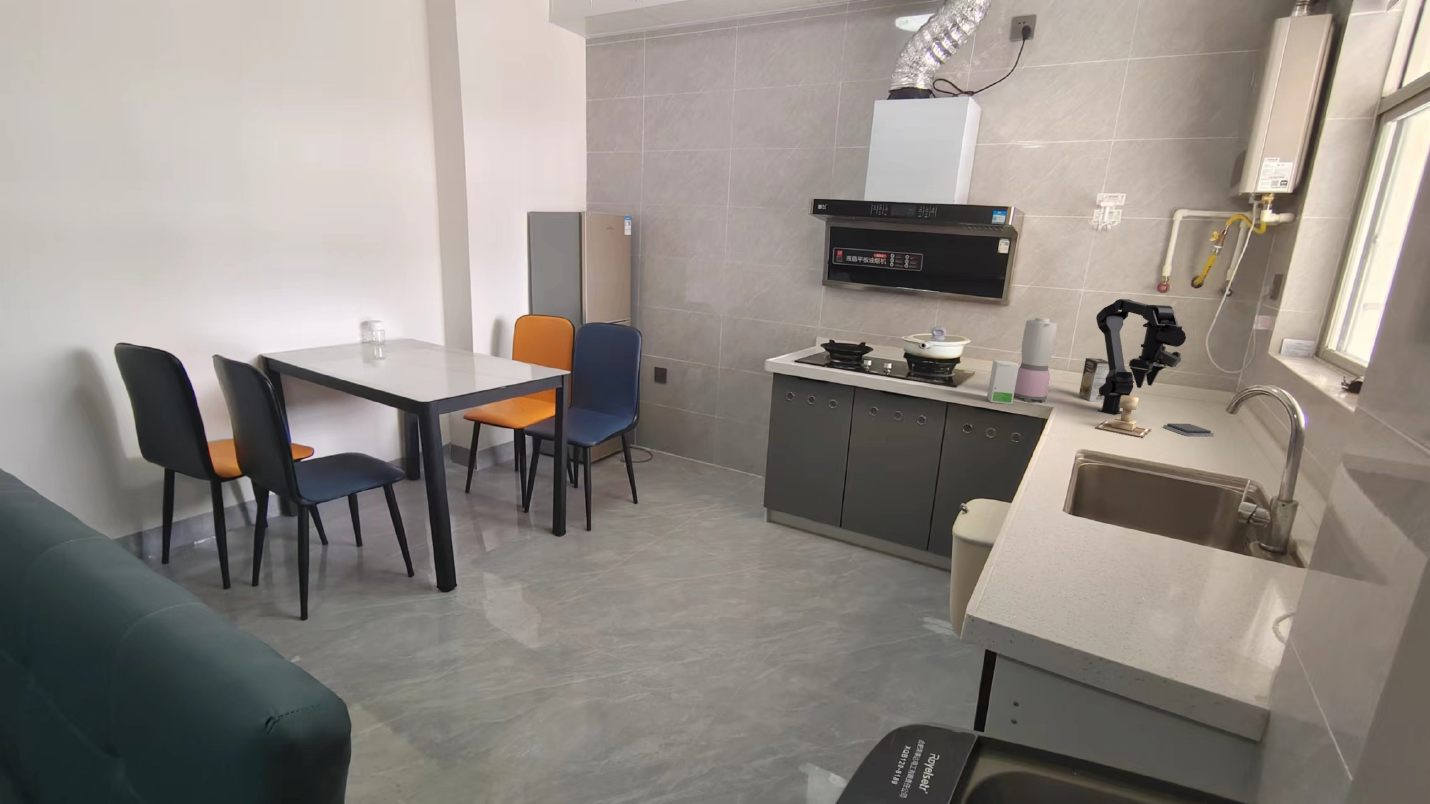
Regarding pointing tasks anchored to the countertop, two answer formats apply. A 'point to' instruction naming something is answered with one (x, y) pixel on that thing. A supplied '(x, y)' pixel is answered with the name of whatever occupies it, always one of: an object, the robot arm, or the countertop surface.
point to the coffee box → (1093, 379)
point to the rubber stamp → (1126, 414)
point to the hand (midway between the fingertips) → (1144, 386)
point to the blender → (1035, 359)
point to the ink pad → (1188, 430)
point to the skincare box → (1002, 382)
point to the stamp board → (1136, 432)
